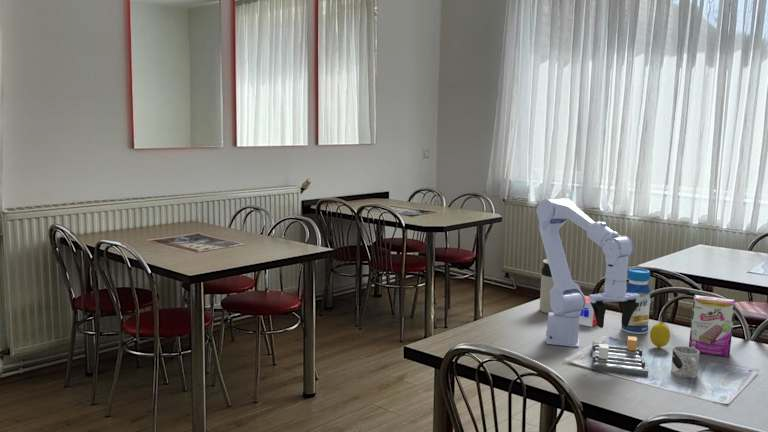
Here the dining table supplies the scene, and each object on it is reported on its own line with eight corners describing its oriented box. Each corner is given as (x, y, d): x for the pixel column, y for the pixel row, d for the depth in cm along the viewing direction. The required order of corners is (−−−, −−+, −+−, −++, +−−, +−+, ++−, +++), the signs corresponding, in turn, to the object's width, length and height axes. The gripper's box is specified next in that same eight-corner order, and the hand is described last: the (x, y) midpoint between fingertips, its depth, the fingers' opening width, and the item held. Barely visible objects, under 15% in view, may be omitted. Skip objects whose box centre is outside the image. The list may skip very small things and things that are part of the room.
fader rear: (627, 353, 202) (628, 339, 202) (626, 349, 206) (627, 336, 205) (636, 354, 202) (637, 340, 201) (635, 350, 205) (636, 336, 204)
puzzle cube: (602, 322, 238) (604, 299, 237) (592, 327, 232) (593, 303, 231) (580, 317, 243) (581, 294, 242) (569, 322, 237) (571, 299, 236)
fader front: (598, 361, 195) (599, 347, 194) (598, 357, 198) (599, 343, 198) (607, 362, 194) (608, 348, 194) (607, 358, 198) (608, 344, 197)
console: (592, 370, 192) (592, 360, 192) (591, 347, 211) (592, 338, 211) (648, 376, 189) (648, 366, 188) (642, 352, 208) (643, 343, 207)
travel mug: (558, 315, 244) (561, 264, 241) (536, 312, 248) (538, 261, 246) (565, 310, 251) (568, 260, 248) (543, 307, 255) (546, 257, 252)
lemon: (670, 352, 209) (672, 325, 208) (650, 350, 210) (652, 324, 209) (666, 346, 214) (669, 320, 213) (647, 344, 215) (649, 319, 214)
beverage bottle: (651, 329, 230) (655, 269, 227) (645, 336, 223) (649, 274, 220) (624, 325, 235) (628, 266, 232) (617, 331, 228) (622, 270, 225)
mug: (667, 369, 195) (669, 345, 194) (691, 369, 195) (693, 346, 194) (681, 382, 185) (683, 358, 184) (706, 383, 185) (709, 359, 184)
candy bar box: (688, 352, 209) (693, 298, 207) (688, 347, 214) (693, 294, 211) (730, 358, 205) (735, 303, 202) (730, 353, 209) (735, 299, 207)
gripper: (599, 283, 193) (595, 331, 195) (647, 282, 196) (643, 329, 198) (586, 277, 200) (583, 324, 202) (633, 276, 203) (629, 322, 205)
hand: (612, 326), depth 200 cm, fingers open, 7 cm apart
